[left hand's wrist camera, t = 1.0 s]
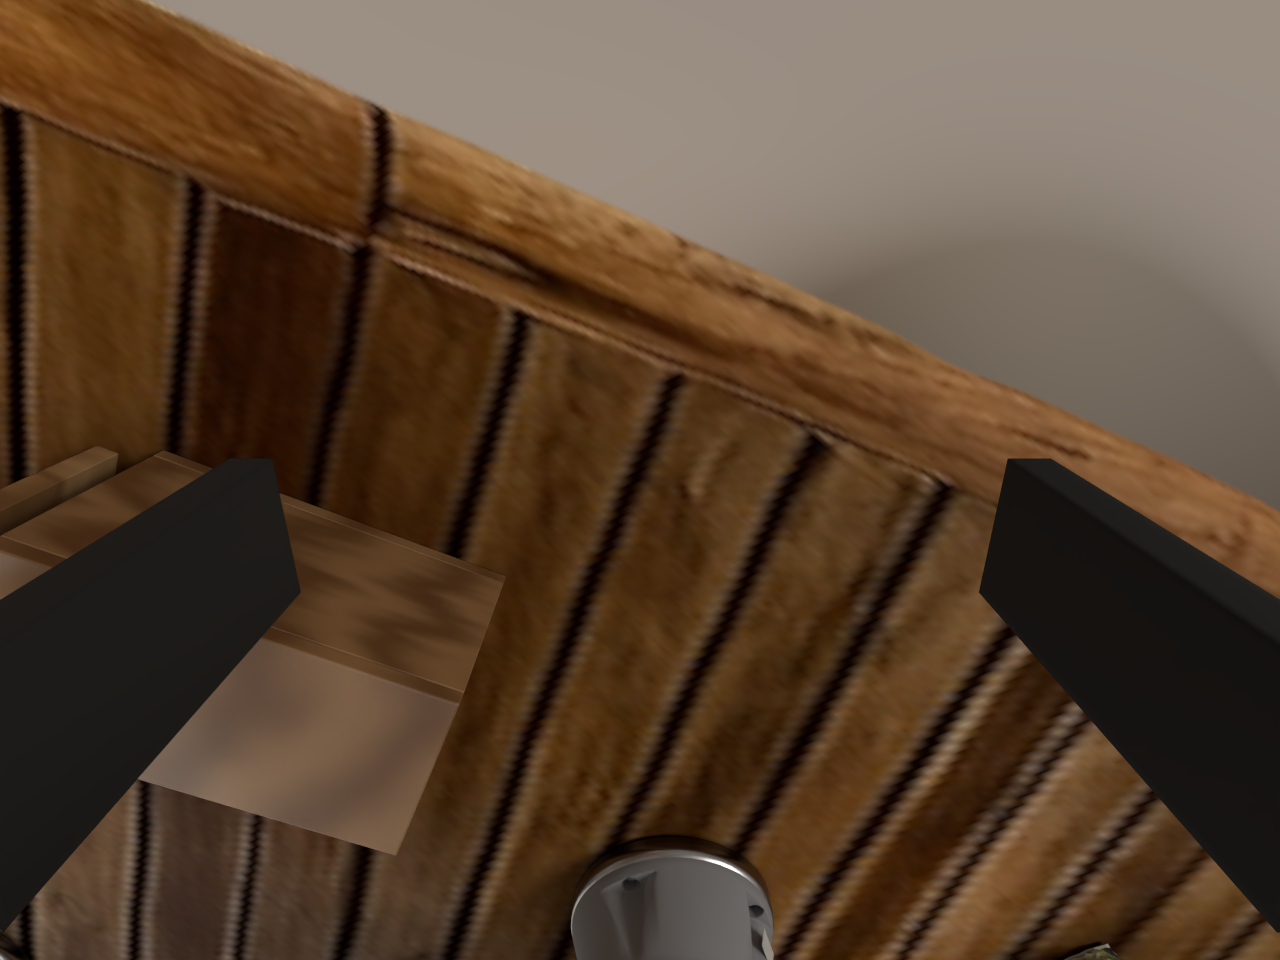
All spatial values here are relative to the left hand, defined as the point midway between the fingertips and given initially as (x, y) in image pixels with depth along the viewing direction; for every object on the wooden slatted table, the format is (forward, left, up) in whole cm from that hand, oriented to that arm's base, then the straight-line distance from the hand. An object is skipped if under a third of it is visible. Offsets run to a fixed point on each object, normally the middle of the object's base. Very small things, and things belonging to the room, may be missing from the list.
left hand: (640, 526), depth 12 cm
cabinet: (-22, +14, -25) cm, 36 cm away
